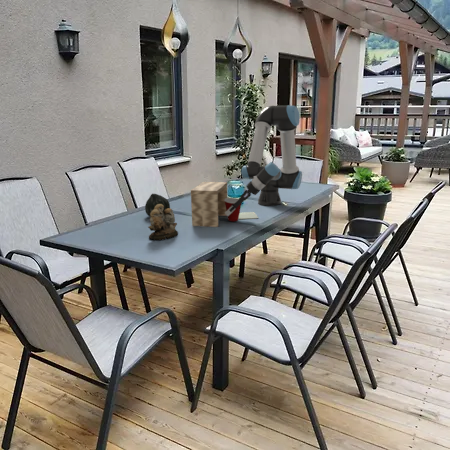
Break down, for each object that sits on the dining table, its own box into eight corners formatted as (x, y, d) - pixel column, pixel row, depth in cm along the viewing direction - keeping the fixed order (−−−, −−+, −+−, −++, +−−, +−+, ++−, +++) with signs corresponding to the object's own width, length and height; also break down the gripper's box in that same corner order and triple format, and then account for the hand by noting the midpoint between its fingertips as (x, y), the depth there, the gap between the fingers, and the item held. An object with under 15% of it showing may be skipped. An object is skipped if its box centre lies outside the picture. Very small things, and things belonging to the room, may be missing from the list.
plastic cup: (239, 223, 247) (239, 202, 244) (221, 221, 251) (221, 200, 247) (245, 218, 257) (245, 198, 254) (227, 216, 261) (227, 196, 257)
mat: (253, 212, 272) (253, 211, 272) (258, 218, 259) (258, 217, 259) (231, 213, 270) (231, 213, 270) (234, 219, 257) (234, 218, 257)
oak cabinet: (227, 215, 267) (227, 182, 262) (217, 226, 243) (216, 190, 238) (204, 214, 271) (203, 181, 265) (192, 225, 246) (190, 190, 241)
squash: (177, 205, 271) (161, 186, 270) (168, 212, 257) (150, 192, 256) (162, 219, 277) (146, 201, 276) (152, 226, 263) (135, 207, 262)
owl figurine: (159, 243, 218) (156, 209, 213) (142, 239, 225) (139, 206, 220) (183, 233, 232) (181, 201, 227) (167, 230, 239) (164, 199, 234)
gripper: (254, 177, 256) (228, 203, 264) (247, 184, 235) (219, 212, 243) (263, 186, 256) (237, 212, 264) (257, 194, 235) (228, 222, 243)
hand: (228, 212), depth 253 cm, fingers closed on plastic cup, 10 cm apart
